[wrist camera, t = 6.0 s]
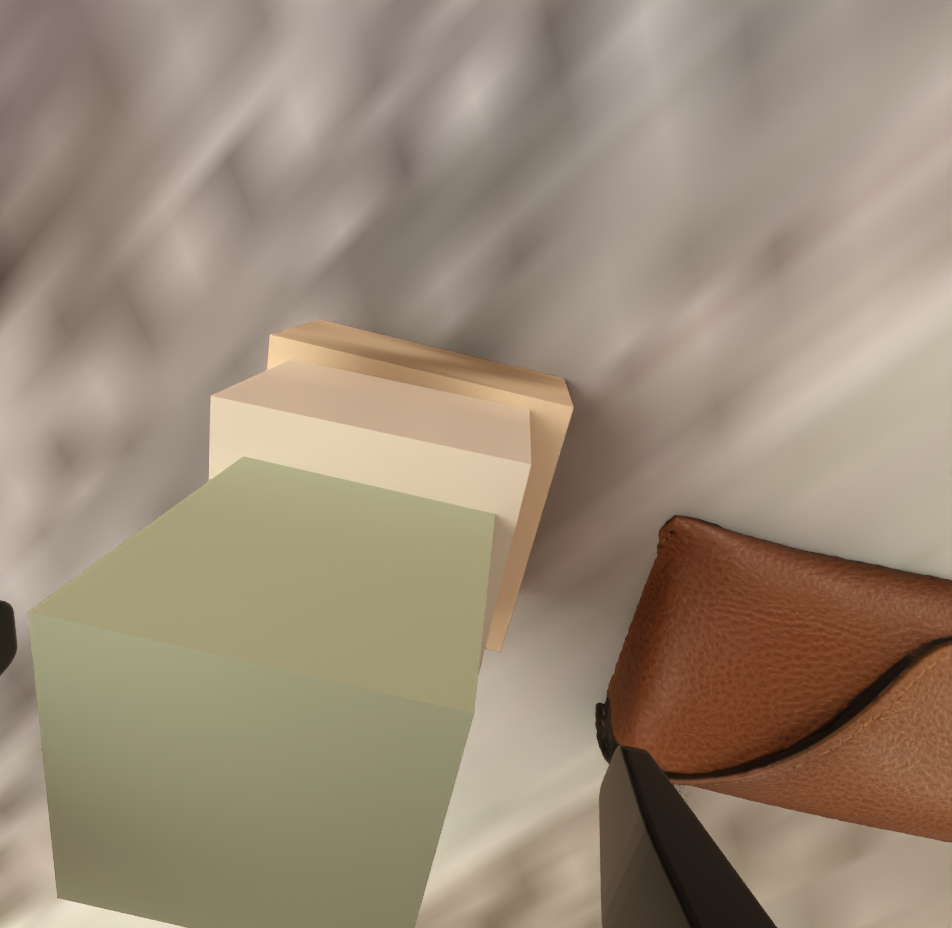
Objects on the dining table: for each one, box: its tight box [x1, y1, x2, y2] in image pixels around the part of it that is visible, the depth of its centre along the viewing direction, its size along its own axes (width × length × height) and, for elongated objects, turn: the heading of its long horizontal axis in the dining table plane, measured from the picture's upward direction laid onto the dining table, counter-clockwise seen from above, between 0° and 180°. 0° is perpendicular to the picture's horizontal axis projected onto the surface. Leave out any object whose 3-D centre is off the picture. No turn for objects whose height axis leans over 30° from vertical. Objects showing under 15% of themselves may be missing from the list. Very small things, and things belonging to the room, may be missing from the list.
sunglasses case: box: [595, 515, 952, 842], centre depth 17 cm, size 18×7×7 cm, turn 82°
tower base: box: [267, 320, 574, 652], centre depth 15 cm, size 7×7×4 cm
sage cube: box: [28, 456, 495, 928], centre depth 8 cm, size 4×4×4 cm
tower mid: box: [209, 359, 531, 674], centre depth 12 cm, size 6×6×4 cm
